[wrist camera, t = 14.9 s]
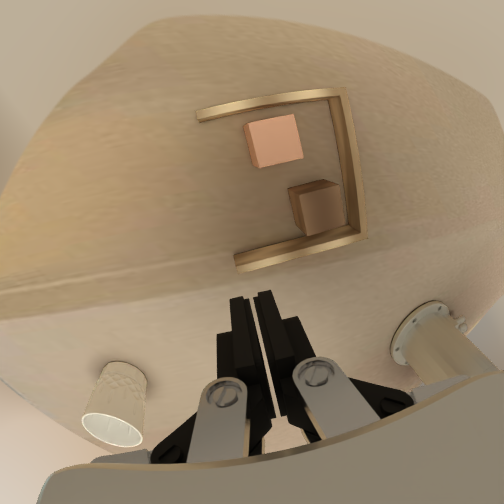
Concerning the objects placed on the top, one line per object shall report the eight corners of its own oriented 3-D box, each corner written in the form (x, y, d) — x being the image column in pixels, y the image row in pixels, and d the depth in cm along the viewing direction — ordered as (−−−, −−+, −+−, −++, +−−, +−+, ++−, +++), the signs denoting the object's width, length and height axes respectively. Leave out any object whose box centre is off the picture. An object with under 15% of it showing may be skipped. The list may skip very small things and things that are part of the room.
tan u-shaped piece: (333, 91, 25) (345, 87, 22) (355, 229, 31) (367, 238, 28) (197, 115, 24) (195, 111, 21) (235, 261, 30) (237, 274, 27)
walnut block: (323, 179, 28) (339, 184, 24) (329, 214, 30) (345, 224, 26) (287, 188, 28) (298, 195, 24) (295, 224, 29) (307, 236, 26)
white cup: (149, 362, 34) (138, 420, 24) (152, 397, 36) (145, 451, 27) (95, 353, 32) (74, 407, 23) (104, 389, 35) (90, 439, 26)
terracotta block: (282, 118, 25) (293, 113, 22) (291, 156, 27) (303, 158, 23) (242, 126, 25) (248, 123, 21) (252, 165, 27) (259, 168, 23)
